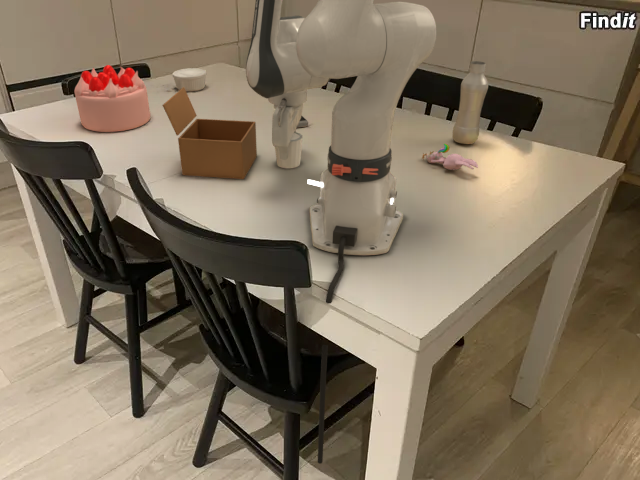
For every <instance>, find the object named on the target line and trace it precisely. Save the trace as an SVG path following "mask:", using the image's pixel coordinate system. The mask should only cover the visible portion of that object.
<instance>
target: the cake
mask: <svg viewBox="0 0 640 480" xmlns="http://www.w3.org/2000/svg"><path fill="white" fill-rule="evenodd" d="M74 96H75V101H76V106H77V110H78V111H77V112H78V116H79V120H80V124H81V125H82V127H83V128H85V129H86V130H89V131H93V132H100V133H101V132H102V133H114V132H115V133H116V132H123V131H128V130H132V129H136V128H140V127H142V126H145V124H148V122H149V121H150V120H151V111H150V103H149V97H148V96H149V95H148V90H147V85H146V84H145V82H144V81H143V79H141V78H140V77H139V71H138V70H136V71H135V70H134V69H133V68H132V67H126V68H123V67H122V66H120V70H119V72H118V73H117V72H116V70H115V69H114V68H113V66H112V65H110V64H106V65H105V66H104V67H103V70H102V71H99V72H98V73H97V71H96V70H95V67H92V68H91V72H90V71H89V70H84V71H82V72H81V75H80V78H79V80H78V82H77V84H76V85H75V87H74Z"/></svg>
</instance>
